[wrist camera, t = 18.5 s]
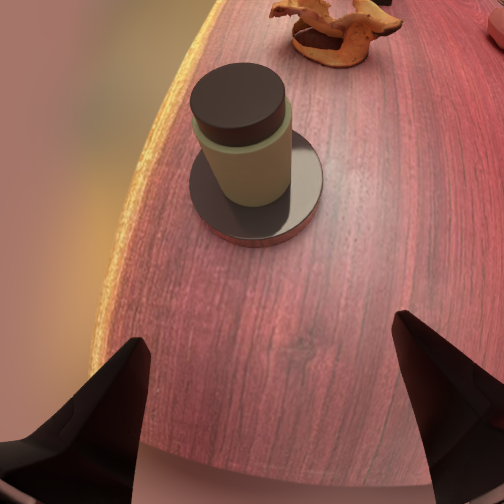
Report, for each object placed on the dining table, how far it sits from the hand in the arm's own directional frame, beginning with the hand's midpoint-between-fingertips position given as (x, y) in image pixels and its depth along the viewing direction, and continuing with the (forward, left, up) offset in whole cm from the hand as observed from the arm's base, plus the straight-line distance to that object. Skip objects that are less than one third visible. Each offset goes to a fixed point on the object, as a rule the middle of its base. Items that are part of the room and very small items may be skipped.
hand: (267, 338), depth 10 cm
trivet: (+7, +7, -9) cm, 14 cm away
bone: (+25, +11, -10) cm, 29 cm away
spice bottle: (+7, +7, -7) cm, 12 cm away
